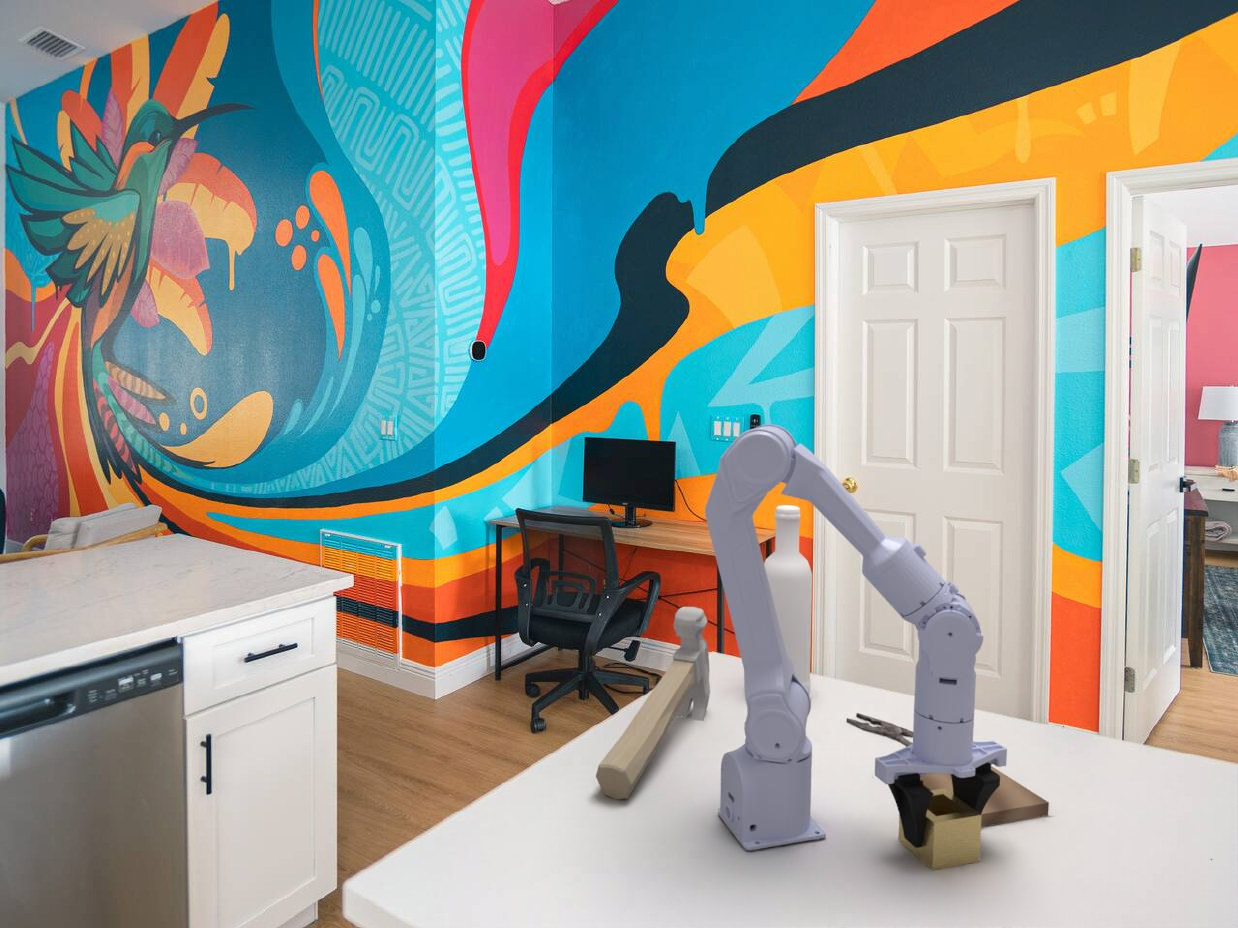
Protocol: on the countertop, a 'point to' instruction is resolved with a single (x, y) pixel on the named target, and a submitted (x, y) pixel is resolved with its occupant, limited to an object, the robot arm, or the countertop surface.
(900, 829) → the collar
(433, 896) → the countertop surface
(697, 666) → the hammer
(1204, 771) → the countertop surface
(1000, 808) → the post board
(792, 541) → the bottle
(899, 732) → the pliers
